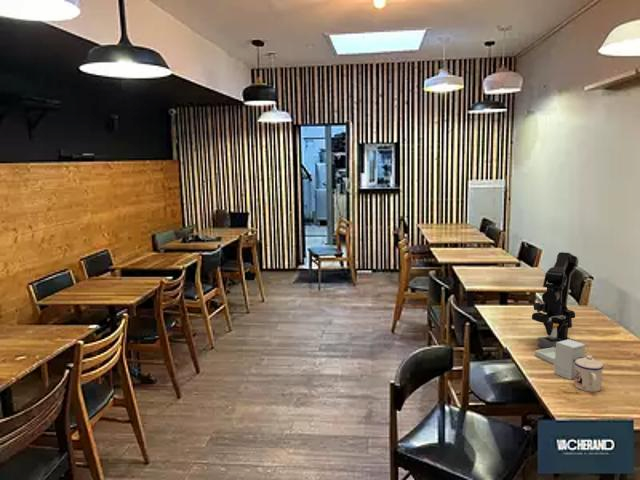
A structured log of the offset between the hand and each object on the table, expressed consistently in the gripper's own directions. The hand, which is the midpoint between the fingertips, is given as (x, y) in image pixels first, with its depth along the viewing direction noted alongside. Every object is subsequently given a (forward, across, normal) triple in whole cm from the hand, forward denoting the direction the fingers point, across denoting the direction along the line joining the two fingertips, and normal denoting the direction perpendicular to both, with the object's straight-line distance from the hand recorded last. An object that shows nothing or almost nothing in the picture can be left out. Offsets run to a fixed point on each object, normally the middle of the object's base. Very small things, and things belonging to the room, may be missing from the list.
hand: (552, 334), depth 222 cm
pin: (+4, 0, 0) cm, 4 cm away
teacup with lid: (+6, +18, +36) cm, 41 cm away
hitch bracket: (+6, 0, 0) cm, 6 cm away
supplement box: (+6, +16, +24) cm, 30 cm away
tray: (+6, +8, +10) cm, 14 cm away
